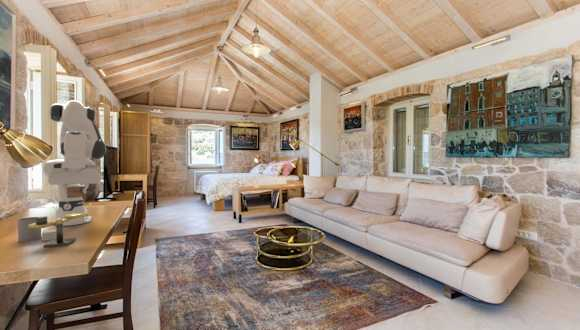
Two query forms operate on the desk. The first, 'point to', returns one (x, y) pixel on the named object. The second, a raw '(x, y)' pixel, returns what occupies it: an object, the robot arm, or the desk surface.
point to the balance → (57, 229)
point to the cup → (28, 230)
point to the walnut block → (75, 191)
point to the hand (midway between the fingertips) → (75, 193)
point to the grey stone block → (49, 235)
